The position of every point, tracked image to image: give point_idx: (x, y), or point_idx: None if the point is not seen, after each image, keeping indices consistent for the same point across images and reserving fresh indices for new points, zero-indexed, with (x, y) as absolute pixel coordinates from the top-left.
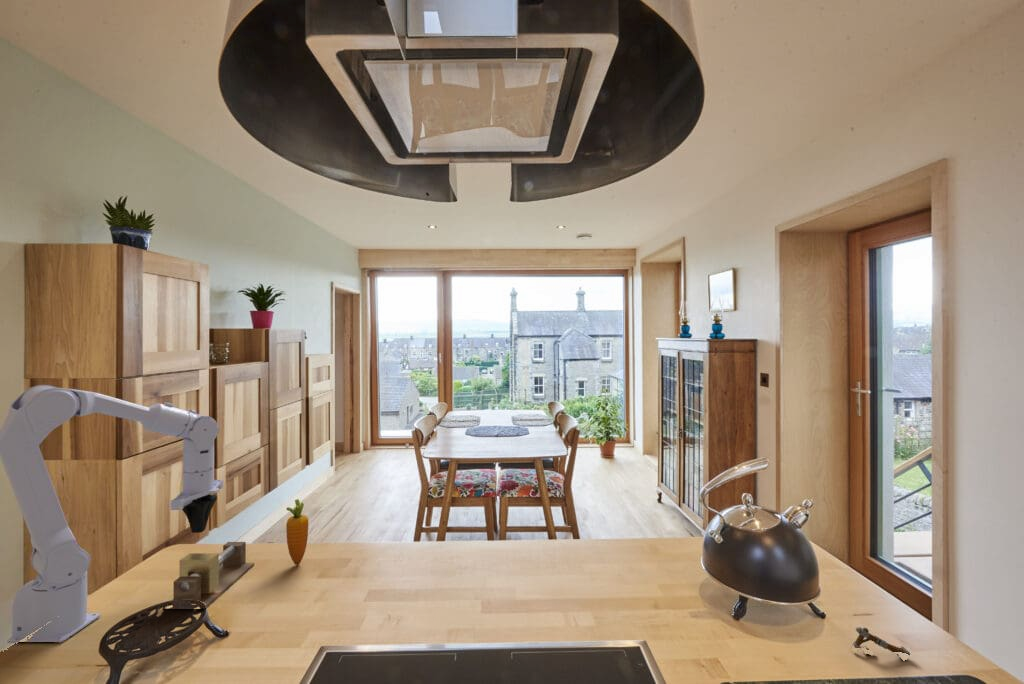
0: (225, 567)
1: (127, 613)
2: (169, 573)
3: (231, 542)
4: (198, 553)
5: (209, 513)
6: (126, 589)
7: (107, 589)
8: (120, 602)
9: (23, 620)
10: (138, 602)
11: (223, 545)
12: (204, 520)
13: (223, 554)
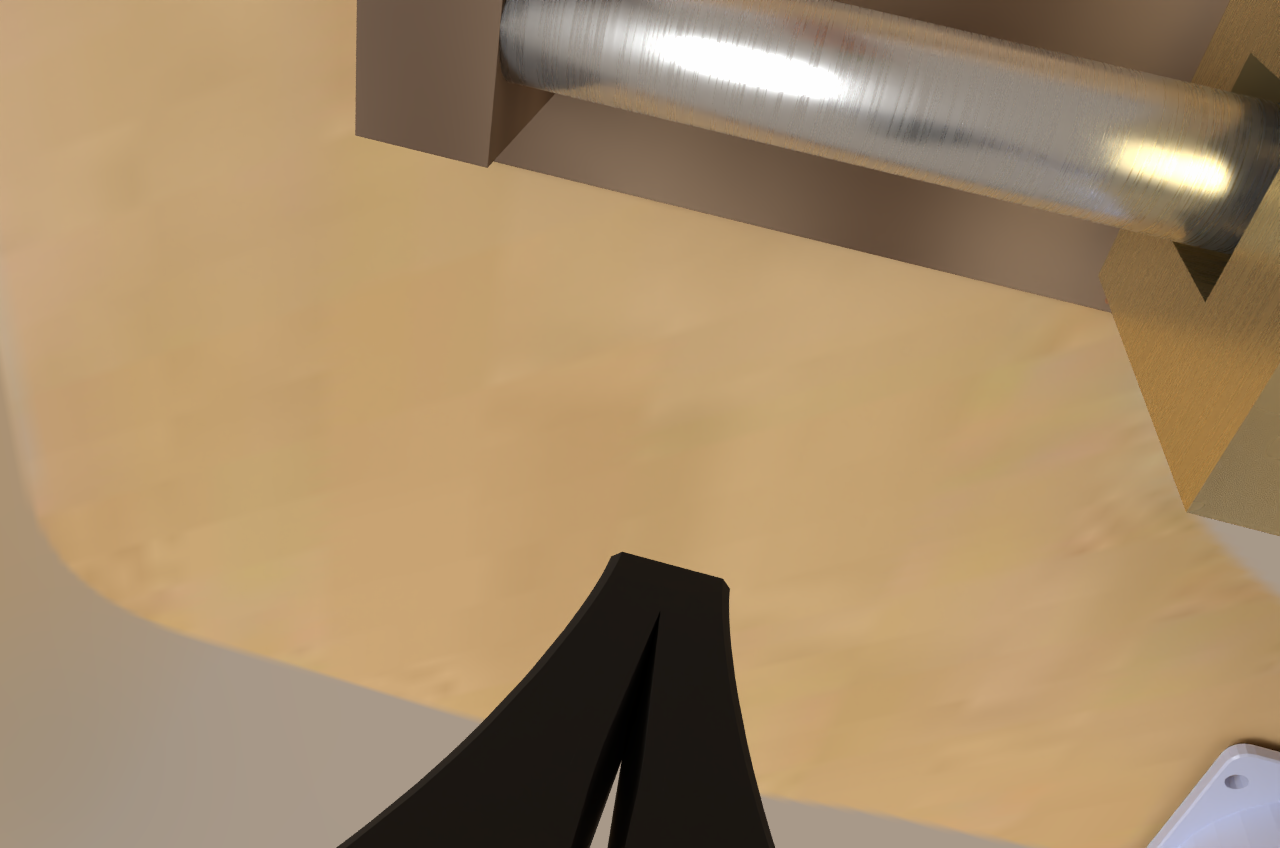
0: None
1: (1272, 602)
2: (580, 523)
3: (376, 78)
4: (1263, 389)
5: (482, 747)
6: (802, 705)
7: (765, 793)
8: (1025, 687)
9: None
10: (1086, 585)
11: (479, 165)
12: (672, 715)
13: (815, 53)
